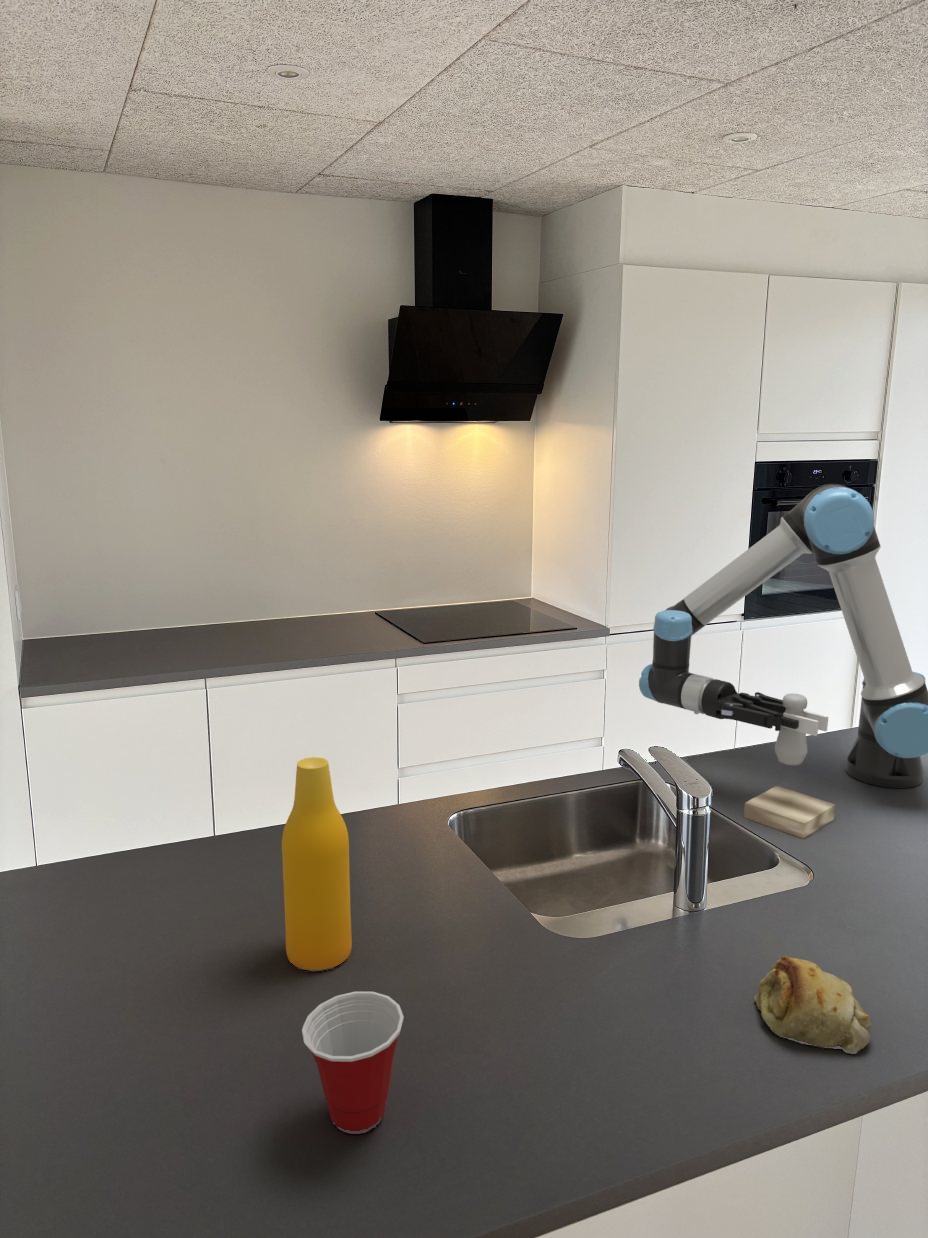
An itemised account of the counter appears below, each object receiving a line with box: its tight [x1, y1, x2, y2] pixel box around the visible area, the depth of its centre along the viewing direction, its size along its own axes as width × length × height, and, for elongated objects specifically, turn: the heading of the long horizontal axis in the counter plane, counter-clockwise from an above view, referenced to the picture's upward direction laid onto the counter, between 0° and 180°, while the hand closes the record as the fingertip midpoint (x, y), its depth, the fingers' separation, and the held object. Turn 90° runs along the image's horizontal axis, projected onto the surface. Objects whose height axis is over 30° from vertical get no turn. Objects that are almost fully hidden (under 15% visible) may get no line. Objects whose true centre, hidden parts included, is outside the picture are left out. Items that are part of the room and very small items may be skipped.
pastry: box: [753, 955, 872, 1053], centre depth 113 cm, size 14×12×8 cm
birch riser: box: [743, 785, 836, 840], centre depth 171 cm, size 12×12×3 cm
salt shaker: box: [774, 692, 809, 766], centre depth 168 cm, size 6×6×13 cm
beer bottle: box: [281, 756, 353, 970], centre depth 125 cm, size 9×9×29 cm
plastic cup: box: [301, 991, 404, 1131], centre depth 97 cm, size 11×11×12 cm
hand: (821, 726), depth 164 cm, fingers closed on salt shaker, 3 cm apart
